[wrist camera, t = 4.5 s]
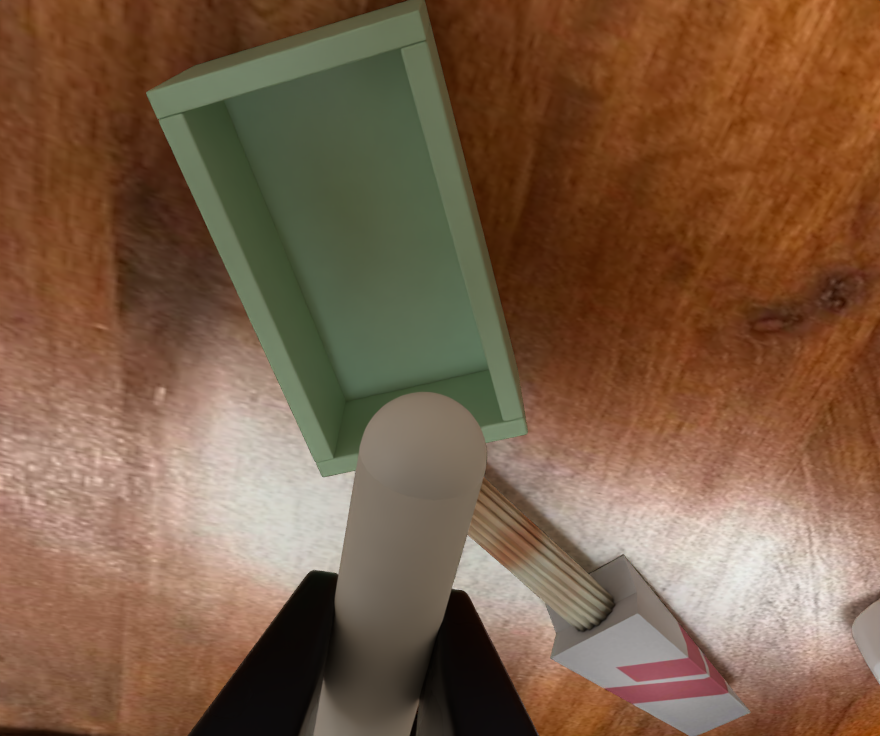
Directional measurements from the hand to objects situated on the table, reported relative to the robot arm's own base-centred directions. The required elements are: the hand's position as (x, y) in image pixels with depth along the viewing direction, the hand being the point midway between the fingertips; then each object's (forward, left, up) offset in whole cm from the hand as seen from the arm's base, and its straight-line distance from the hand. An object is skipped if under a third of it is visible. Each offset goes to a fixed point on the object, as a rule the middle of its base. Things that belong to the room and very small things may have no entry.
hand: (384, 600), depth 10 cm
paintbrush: (-12, -8, -10) cm, 18 cm away
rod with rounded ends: (0, 0, +1) cm, 1 cm away
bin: (0, +1, -13) cm, 13 cm away
